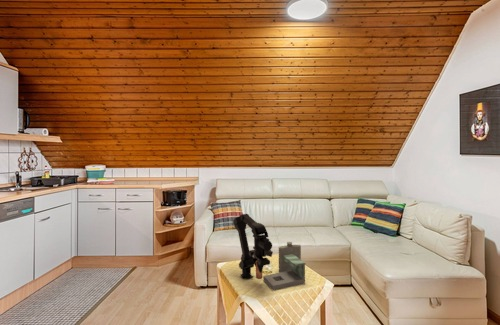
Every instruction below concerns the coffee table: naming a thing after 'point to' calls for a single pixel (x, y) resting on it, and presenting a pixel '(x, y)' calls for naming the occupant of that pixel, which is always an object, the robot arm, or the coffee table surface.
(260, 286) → the coffee table surface
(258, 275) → the peg
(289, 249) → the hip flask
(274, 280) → the socket deck
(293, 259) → the awning
